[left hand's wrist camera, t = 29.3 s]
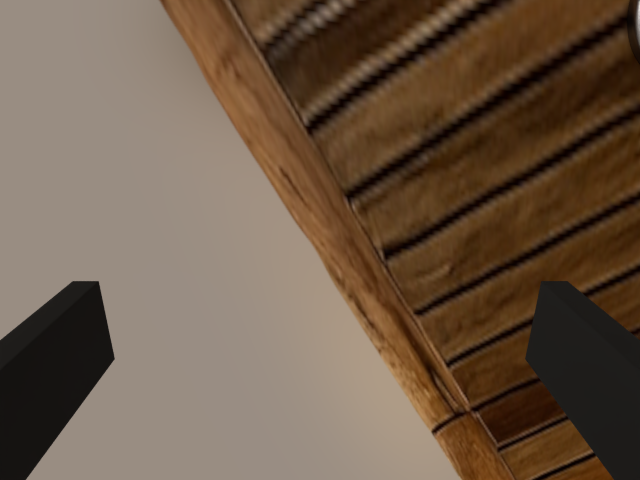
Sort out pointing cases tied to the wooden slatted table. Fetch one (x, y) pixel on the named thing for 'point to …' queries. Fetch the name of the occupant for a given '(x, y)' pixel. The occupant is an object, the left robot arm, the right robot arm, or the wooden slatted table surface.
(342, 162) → the wooden slatted table surface
